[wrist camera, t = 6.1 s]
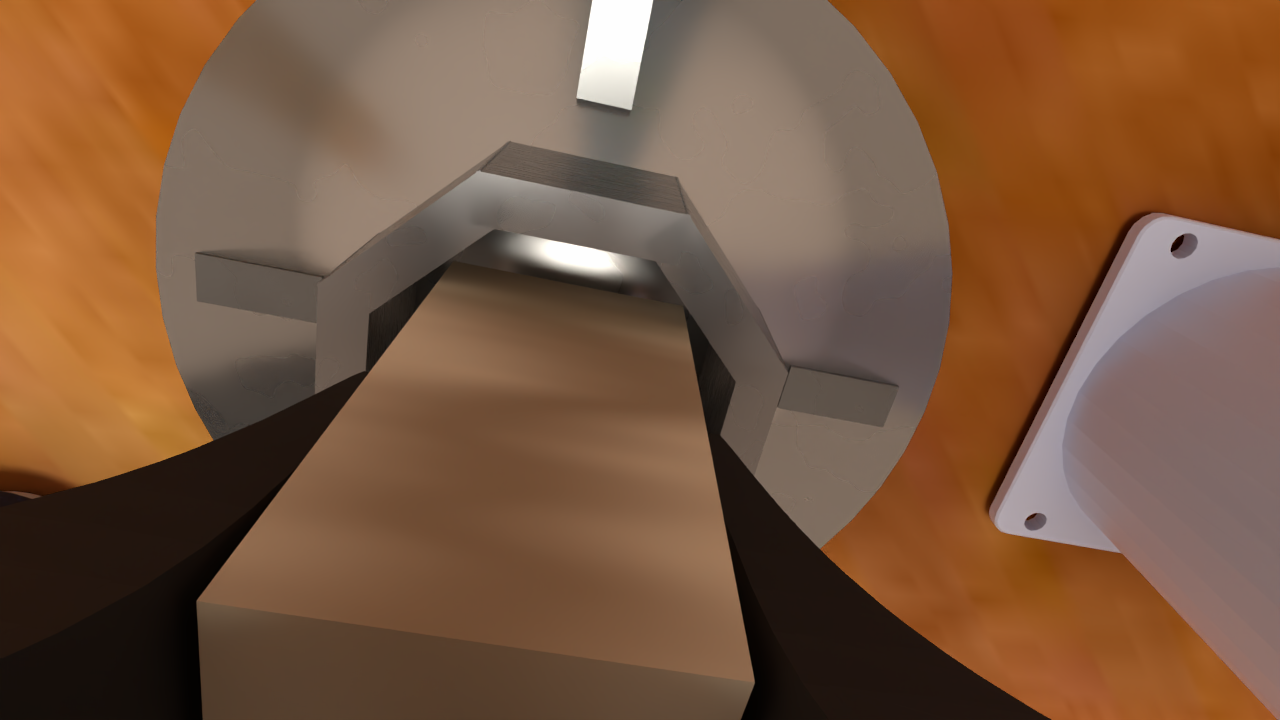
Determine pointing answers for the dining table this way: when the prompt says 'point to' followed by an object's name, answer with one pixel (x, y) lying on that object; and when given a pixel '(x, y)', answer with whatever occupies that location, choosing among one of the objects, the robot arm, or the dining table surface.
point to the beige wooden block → (494, 530)
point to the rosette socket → (569, 208)
